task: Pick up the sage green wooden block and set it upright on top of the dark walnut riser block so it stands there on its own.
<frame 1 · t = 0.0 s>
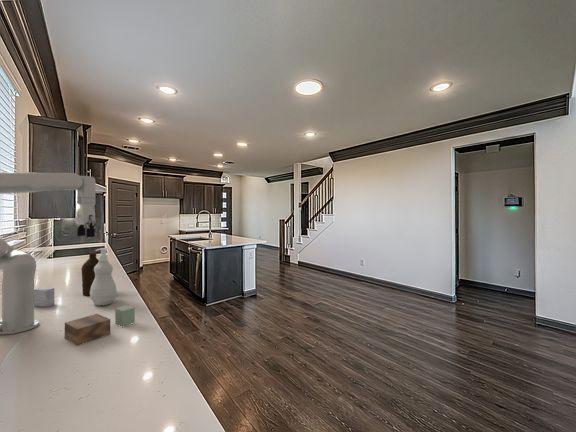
hand: (85, 236, 131), 37 cm above the countertop, tool pointing down, fingers open, 9 cm apart
white vase: (103, 303, 143), on the countertop
sage block: (125, 323, 117), on the countertop
walnut riser: (87, 336, 105), on the countertop
medicine box: (43, 305, 139), on the countertop
olive oil: (92, 294, 159), on the countertop
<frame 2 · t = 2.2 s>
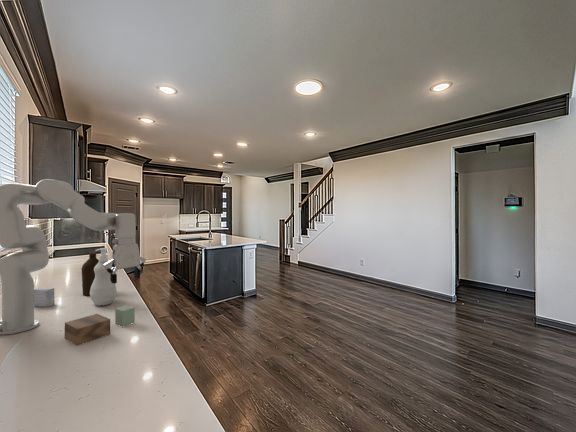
hand: (125, 280, 117), 19 cm above the countertop, tool pointing down, fingers open, 9 cm apart
nothing on the countertop moved.
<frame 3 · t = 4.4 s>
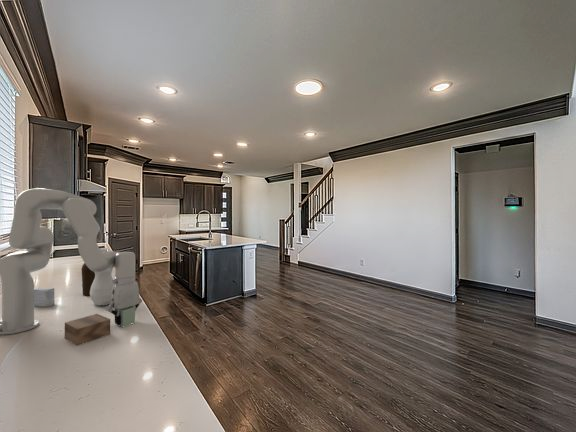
hand: (125, 321, 117), 1 cm above the countertop, tool pointing down, fingers closed on sage block, 5 cm apart
sage block: (125, 323, 117), on the countertop, touching gripper
everything else where it was.
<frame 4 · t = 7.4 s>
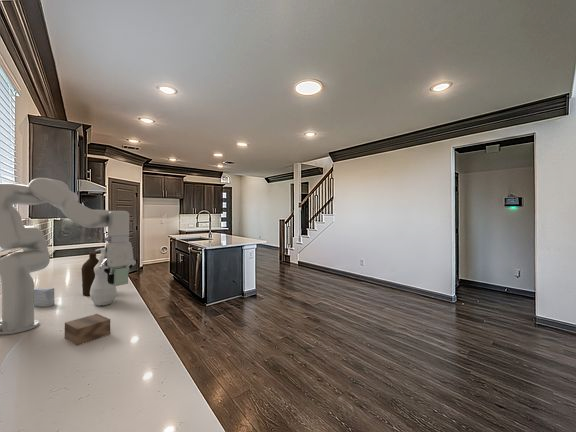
hand: (118, 281, 114), 19 cm above the countertop, tool pointing down, fingers closed on sage block, 5 cm apart
sage block: (118, 283, 114), point 18 cm above the countertop, touching gripper
everything else where it was.
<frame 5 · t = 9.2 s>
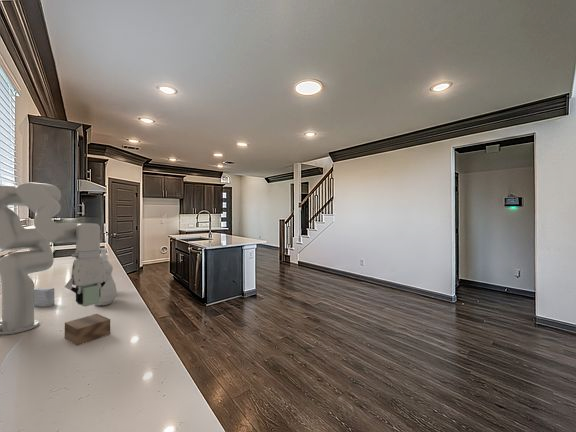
hand: (88, 300, 104), 14 cm above the countertop, tool pointing down, fingers closed on sage block, 5 cm apart
sage block: (88, 303, 104), point 13 cm above the countertop, touching gripper
everything else where it was.
when the fingers open (8 cm above the countertop, at t = 10.6 s): sage block drops 1 cm, resting on walnut riser.
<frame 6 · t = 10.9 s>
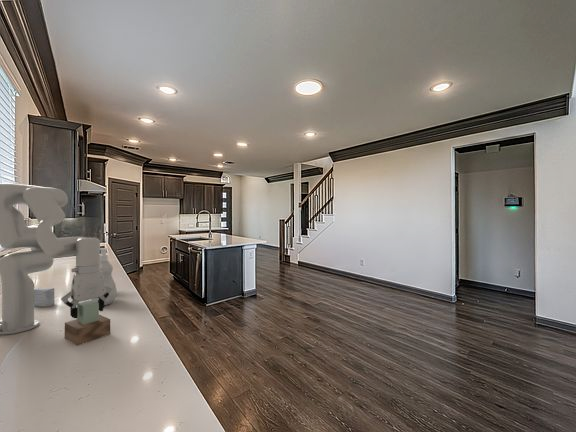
hand: (87, 313, 105), 9 cm above the countertop, tool pointing down, fingers open, 8 cm apart
sage block: (87, 320, 105), point 6 cm above the countertop, touching walnut riser
everything else where it was.
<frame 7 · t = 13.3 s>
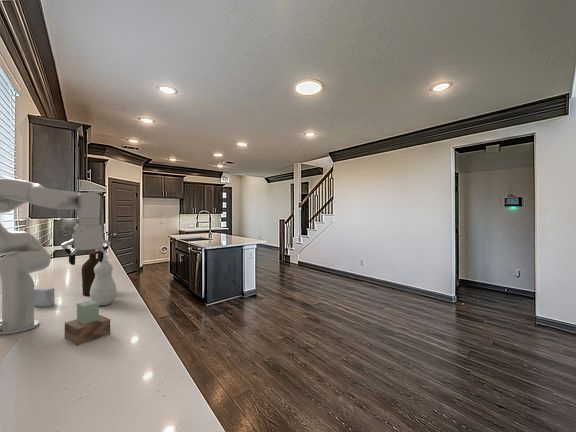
hand: (86, 262, 112), 27 cm above the countertop, tool pointing down, fingers open, 9 cm apart
nothing on the countertop moved.
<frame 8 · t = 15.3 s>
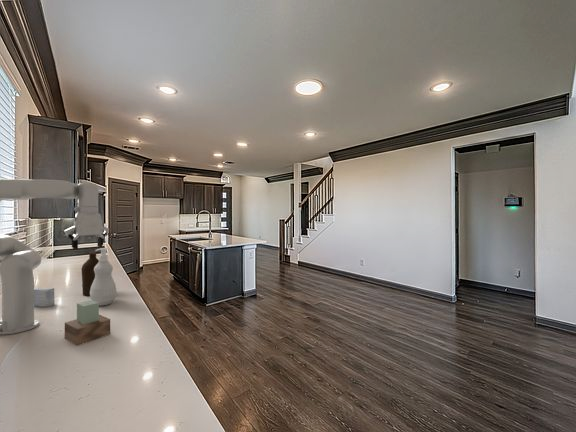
hand: (88, 247, 122), 32 cm above the countertop, tool pointing down, fingers open, 9 cm apart
nothing on the countertop moved.
at the end: sage block inside the target area on the walnut riser (0.0 cm from its centre), point 6.0 cm above the walnut riser's base; sage block tilted 0°; the gripper is holding nothing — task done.
